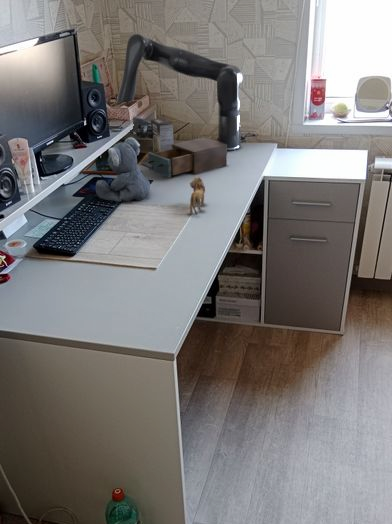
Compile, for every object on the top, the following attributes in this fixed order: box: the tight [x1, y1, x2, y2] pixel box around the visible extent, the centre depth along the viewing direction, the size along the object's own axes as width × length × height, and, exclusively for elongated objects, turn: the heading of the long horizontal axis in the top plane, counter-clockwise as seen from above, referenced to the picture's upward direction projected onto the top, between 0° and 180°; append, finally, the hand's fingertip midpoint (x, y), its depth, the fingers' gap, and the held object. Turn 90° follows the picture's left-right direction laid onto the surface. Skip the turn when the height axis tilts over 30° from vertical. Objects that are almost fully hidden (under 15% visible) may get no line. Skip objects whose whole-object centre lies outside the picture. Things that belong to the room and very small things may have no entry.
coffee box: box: [150, 117, 174, 154], centre depth 236 cm, size 9×6×16 cm
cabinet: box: [172, 136, 228, 175], centre depth 231 cm, size 17×15×9 cm
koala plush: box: [95, 136, 151, 203], centre depth 200 cm, size 17×18×20 cm
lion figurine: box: [189, 176, 206, 216], centre depth 191 cm, size 15×5×9 cm, turn 0°
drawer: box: [140, 148, 193, 179], centre depth 223 cm, size 21×14×7 cm, turn 128°
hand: (160, 134), depth 235 cm, fingers open, 8 cm apart
